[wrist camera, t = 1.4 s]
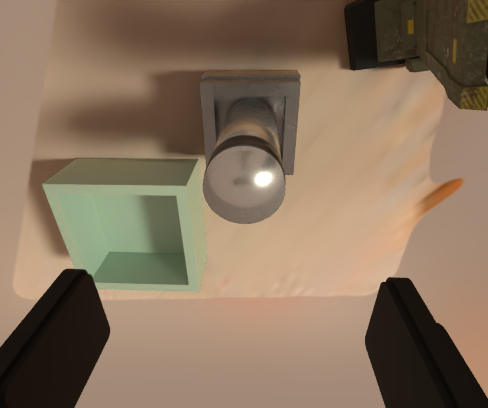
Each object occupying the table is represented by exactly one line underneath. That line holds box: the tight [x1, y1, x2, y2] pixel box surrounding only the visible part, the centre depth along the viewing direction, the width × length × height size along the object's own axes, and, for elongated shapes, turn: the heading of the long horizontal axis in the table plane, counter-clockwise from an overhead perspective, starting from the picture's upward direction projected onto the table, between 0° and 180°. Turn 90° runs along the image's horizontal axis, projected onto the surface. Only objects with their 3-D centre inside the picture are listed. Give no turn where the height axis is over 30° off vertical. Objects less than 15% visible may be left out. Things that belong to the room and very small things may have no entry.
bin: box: [42, 158, 207, 292], centre depth 33 cm, size 13×13×6 cm
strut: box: [203, 99, 285, 224], centre depth 21 cm, size 4×4×12 cm
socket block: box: [200, 70, 301, 175], centre depth 27 cm, size 8×8×5 cm
